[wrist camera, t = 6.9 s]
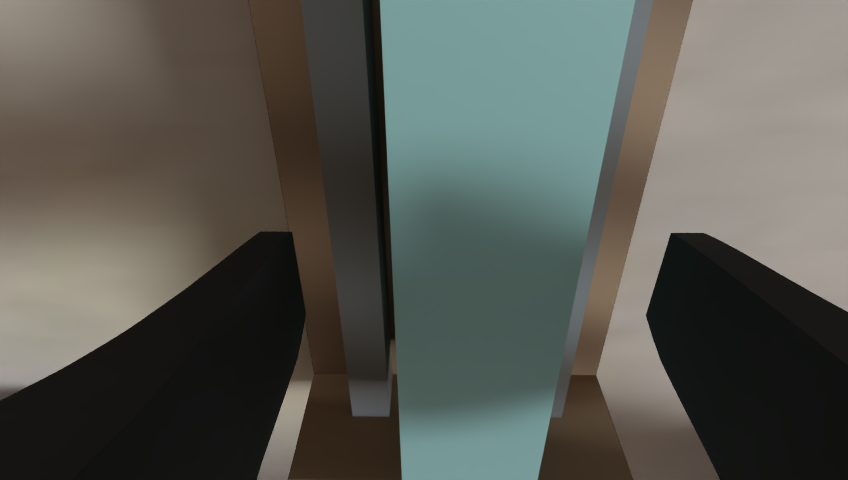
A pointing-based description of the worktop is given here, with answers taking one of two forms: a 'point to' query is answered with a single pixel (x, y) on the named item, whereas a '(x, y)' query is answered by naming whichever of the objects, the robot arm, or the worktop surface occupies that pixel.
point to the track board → (371, 236)
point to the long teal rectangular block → (490, 215)
